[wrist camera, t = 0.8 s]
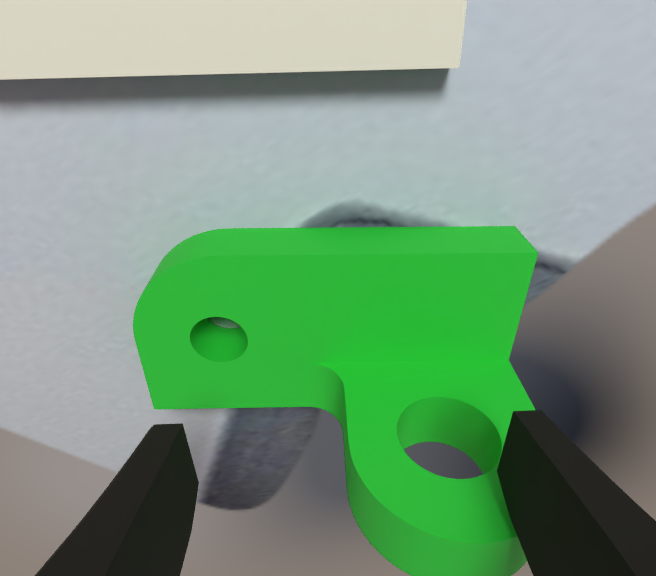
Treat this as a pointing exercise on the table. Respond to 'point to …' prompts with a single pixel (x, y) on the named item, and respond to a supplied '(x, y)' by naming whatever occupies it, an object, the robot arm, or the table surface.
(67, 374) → the table surface
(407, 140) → the table surface
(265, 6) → the plate
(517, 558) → the mechanical part
